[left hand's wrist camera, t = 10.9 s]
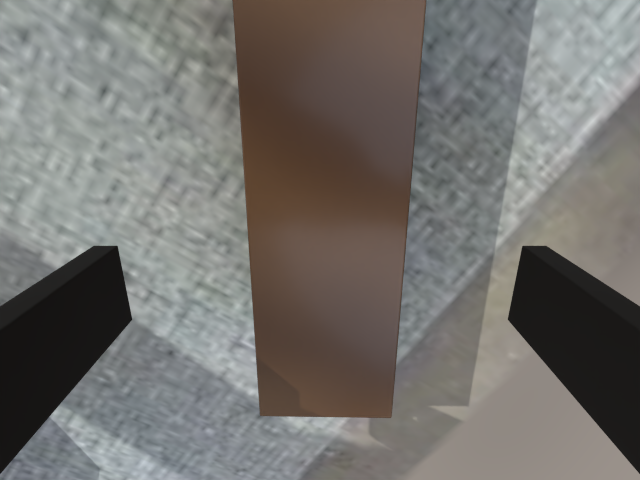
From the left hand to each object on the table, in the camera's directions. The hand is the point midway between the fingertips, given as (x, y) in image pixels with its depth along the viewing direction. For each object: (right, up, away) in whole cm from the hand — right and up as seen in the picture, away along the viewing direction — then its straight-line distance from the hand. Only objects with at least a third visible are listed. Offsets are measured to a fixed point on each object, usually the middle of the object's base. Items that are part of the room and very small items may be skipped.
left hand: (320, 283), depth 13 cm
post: (0, +35, -5) cm, 35 cm away
